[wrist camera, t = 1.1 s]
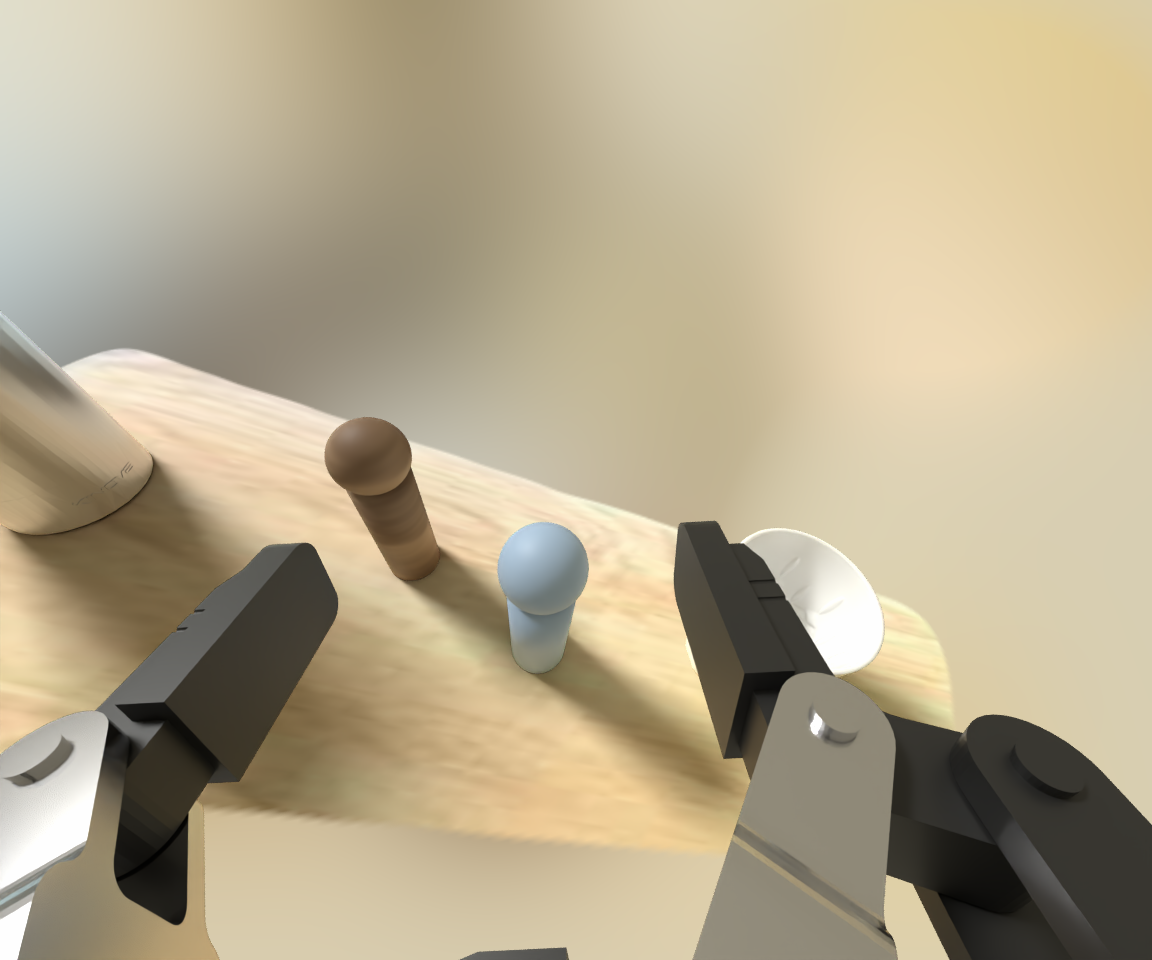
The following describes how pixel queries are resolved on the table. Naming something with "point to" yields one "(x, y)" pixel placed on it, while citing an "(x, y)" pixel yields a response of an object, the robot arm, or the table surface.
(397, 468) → the walnut pin
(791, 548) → the white cup
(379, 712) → the table surface
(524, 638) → the blue pin
